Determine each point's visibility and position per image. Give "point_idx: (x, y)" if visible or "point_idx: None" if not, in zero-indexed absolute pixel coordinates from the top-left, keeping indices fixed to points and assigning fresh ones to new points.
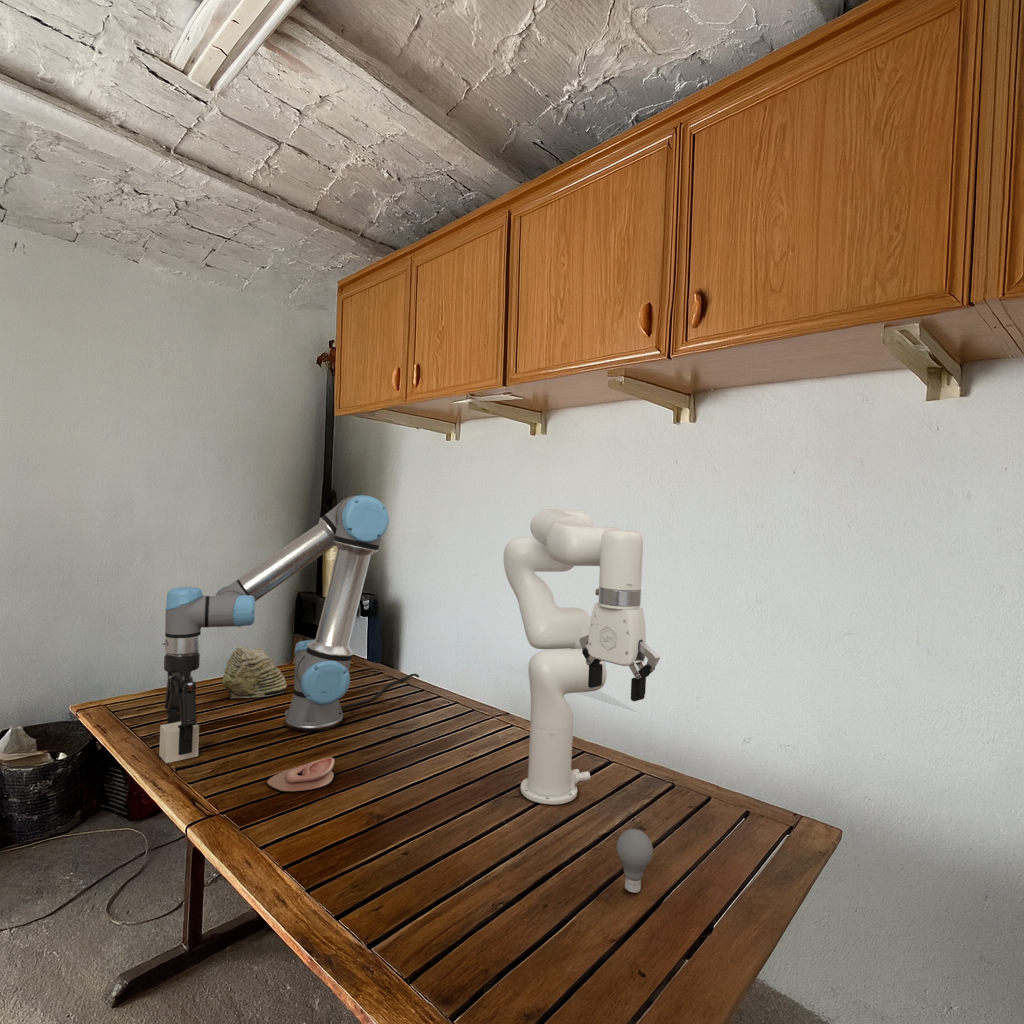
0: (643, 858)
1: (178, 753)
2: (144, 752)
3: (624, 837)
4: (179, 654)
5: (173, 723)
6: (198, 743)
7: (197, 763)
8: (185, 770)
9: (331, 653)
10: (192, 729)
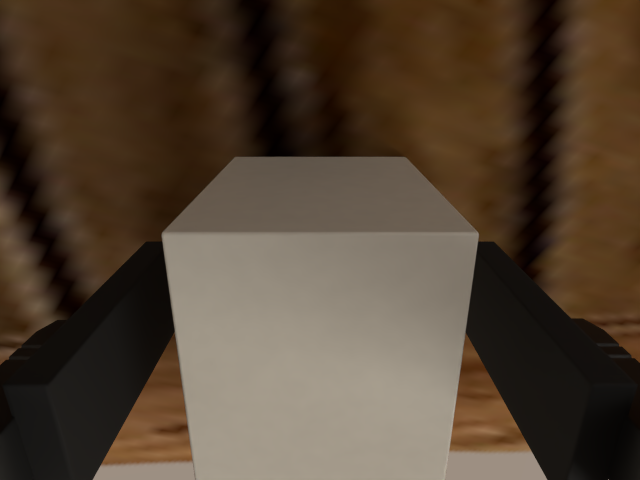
0: None
1: None
2: (149, 382)
3: None
4: None
5: (210, 421)
6: (425, 179)
7: (521, 196)
8: (569, 281)
9: None
10: (596, 348)
